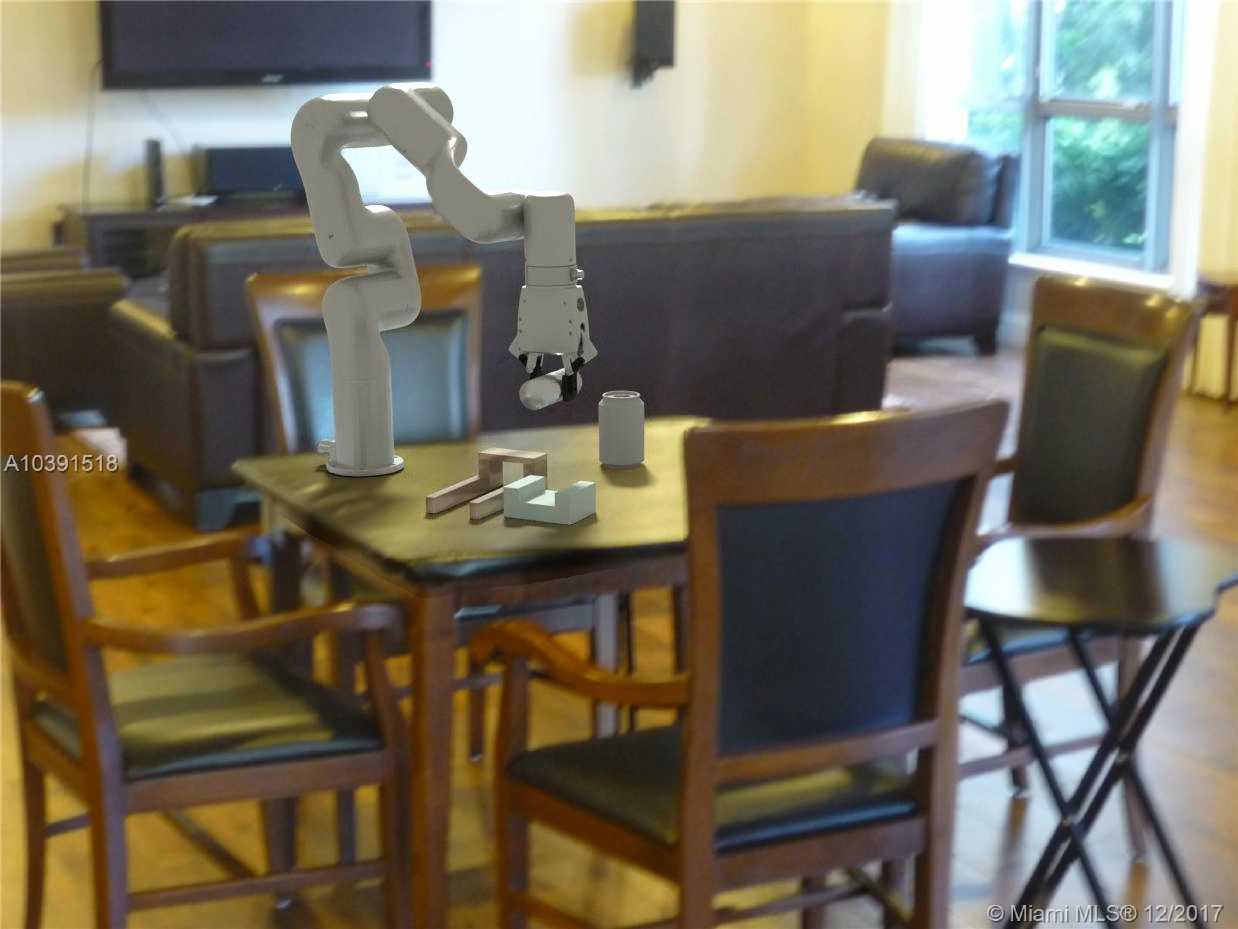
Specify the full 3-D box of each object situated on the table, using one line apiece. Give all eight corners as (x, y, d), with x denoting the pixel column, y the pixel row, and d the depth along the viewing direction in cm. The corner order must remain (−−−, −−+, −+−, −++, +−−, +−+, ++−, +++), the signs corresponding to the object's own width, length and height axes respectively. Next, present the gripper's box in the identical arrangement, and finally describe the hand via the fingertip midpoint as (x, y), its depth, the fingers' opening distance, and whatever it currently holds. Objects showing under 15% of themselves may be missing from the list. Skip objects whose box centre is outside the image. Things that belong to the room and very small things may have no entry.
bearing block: (423, 512, 253) (422, 474, 251) (492, 483, 270) (491, 447, 269) (481, 520, 248) (480, 481, 247) (547, 489, 266) (547, 453, 264)
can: (646, 460, 285) (646, 389, 282) (642, 470, 278) (642, 397, 275) (601, 459, 286) (600, 388, 283) (596, 469, 279) (595, 397, 276)
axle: (544, 412, 249) (547, 383, 248) (518, 406, 251) (520, 377, 250) (580, 398, 260) (583, 370, 258) (554, 392, 261) (557, 364, 260)
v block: (503, 516, 250) (503, 486, 249) (530, 504, 257) (530, 475, 256) (570, 525, 245) (570, 494, 244) (595, 512, 252) (595, 482, 251)
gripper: (613, 275, 251) (615, 398, 256) (512, 272, 258) (515, 391, 262) (591, 281, 245) (594, 407, 249) (488, 278, 252) (492, 400, 256)
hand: (553, 397), depth 256 cm, fingers closed on axle, 4 cm apart
